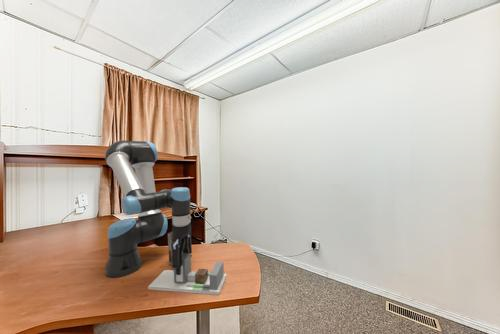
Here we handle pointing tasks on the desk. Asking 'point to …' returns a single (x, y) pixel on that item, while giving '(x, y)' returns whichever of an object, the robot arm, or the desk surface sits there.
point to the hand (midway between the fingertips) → (183, 276)
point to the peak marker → (201, 276)
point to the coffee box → (170, 241)
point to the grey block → (186, 269)
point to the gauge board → (191, 282)
